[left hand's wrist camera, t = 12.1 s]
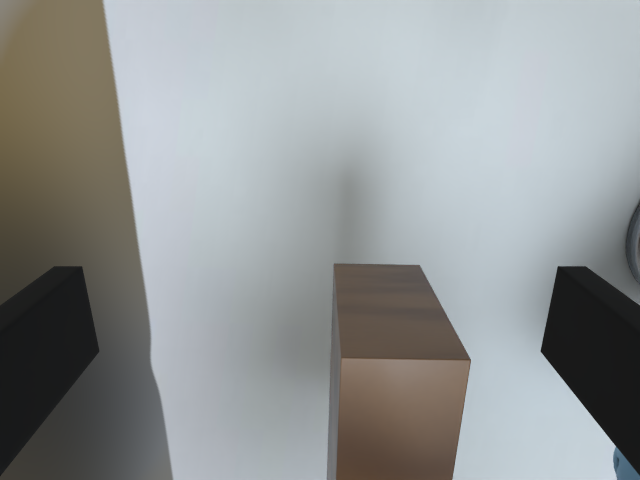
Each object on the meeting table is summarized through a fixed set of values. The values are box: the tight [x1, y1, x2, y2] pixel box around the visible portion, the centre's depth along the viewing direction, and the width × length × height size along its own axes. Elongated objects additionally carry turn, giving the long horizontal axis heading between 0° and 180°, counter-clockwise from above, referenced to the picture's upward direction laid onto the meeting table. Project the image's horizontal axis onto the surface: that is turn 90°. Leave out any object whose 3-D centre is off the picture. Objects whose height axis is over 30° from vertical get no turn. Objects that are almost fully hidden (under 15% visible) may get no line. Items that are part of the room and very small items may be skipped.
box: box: [327, 264, 471, 480], centre depth 29 cm, size 22×6×11 cm, turn 179°
